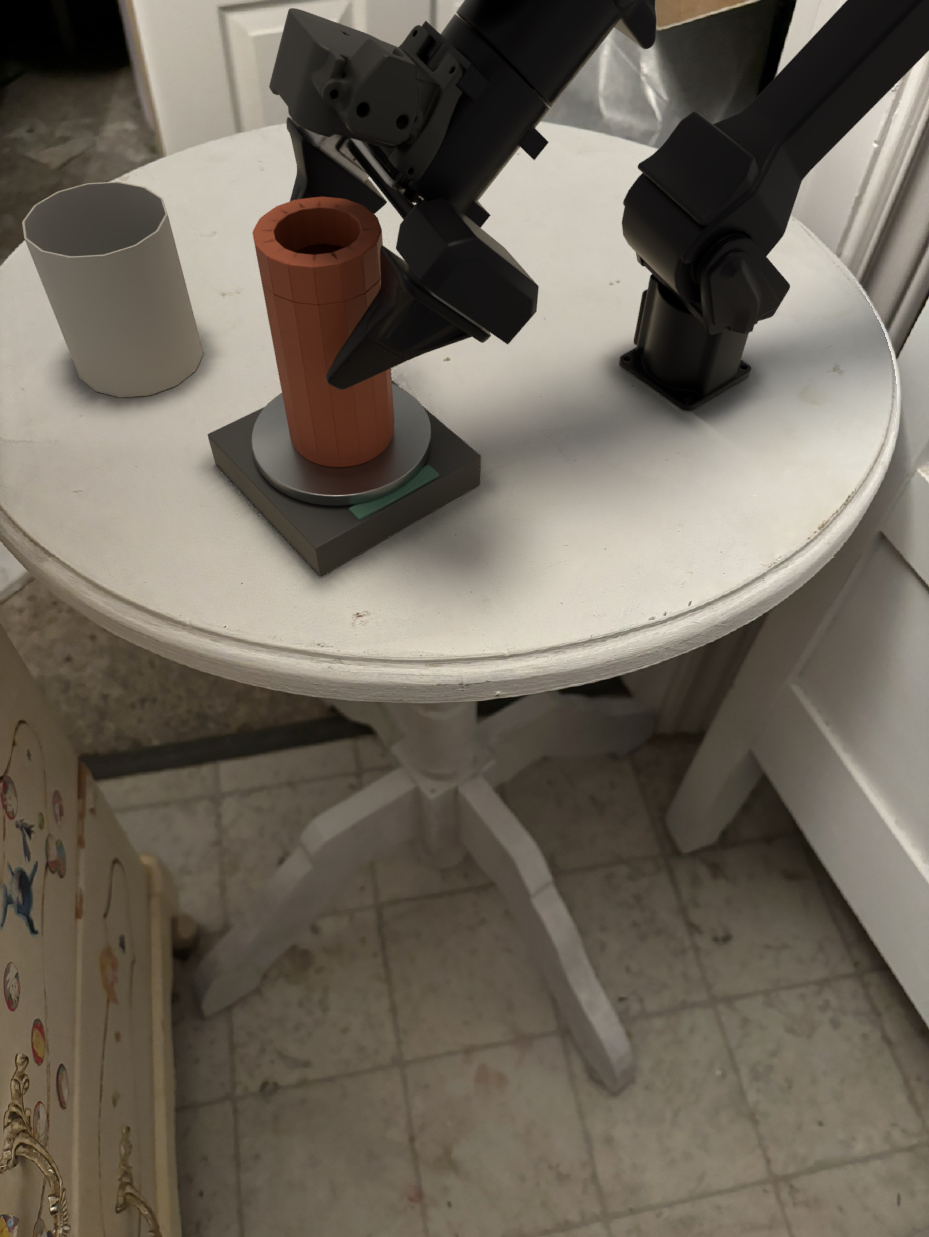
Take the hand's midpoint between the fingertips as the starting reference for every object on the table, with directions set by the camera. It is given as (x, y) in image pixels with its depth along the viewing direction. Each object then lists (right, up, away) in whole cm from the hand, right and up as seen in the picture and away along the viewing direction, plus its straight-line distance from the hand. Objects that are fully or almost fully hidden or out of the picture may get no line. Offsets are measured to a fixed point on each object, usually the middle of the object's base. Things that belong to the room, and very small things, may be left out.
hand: (301, 332), depth 48 cm
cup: (-14, +3, +16) cm, 21 cm away
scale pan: (+1, -4, +7) cm, 8 cm away
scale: (+1, -6, +9) cm, 11 cm away
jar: (+1, -4, +6) cm, 7 cm away
